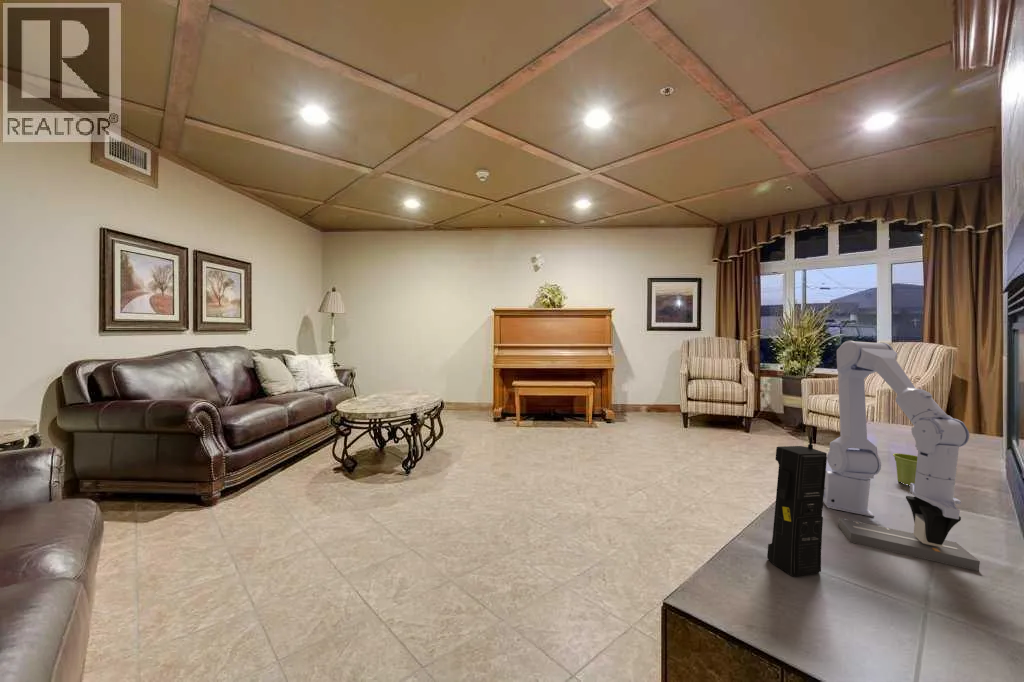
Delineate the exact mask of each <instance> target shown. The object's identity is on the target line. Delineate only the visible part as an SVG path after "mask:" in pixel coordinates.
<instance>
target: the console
mask: <svg viewBox="0 0 1024 682" xmlns="http://www.w3.org/2000/svg"><path fill="white" fill-rule="evenodd" d="M838 518H839V519H838V527H839V529H840V530H841V532H842V533H843V534H844V535H845V536H846V538H847V539H848V541H849V542H850V543H853V544H859V545H861V546H862V545H863V546H867V547H870V548H875V549H880V550H884V551H887V552H893V553H898V554H901V555H906V556H910V557H914V558H919V559H923V560H928V561H933V562H937V563H941V564H946V565H949V566H954V567H959V568H964V569H968V570H971V571H977V572H979V571H980V564H981V561H980V560H979V559H978V558H977V557H975V556H974V555H973V554H971V553H970V552H969V551H968V550H966V549H965V548H964V547H963V546H962V545H960V544H959V543H958V542H957V541H952V540H946V539H945V540H944V542H943V546H942V547H938V546H933V545H928V544H924V543H922V542H921V541H920V540H919V539H918V538H917V537H915V536H914V532H908V531H904V530H898V529H893V528H890V527H885V526H881V525H880V526H879V525H876V524H872V523H871V524H869V523H865V522H860V521H856V520H852V519H848V518H847V519H846V518H841V517H838Z"/></svg>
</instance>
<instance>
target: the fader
mask: <svg viewBox="0 0 1024 682" xmlns="http://www.w3.org/2000/svg"><path fill="white" fill-rule="evenodd" d="M913 533H914V536H915V537H917V538H918V539H919V540H920V541H921V542H922V543H924V544H928V545H933V546H938V547H942V546H943V544H942V545H939V544H934V543H930V542H928V541H927V538H926V530H925V521H924V517H923V515H922V514H916V513H915V524H914V526H913Z"/></svg>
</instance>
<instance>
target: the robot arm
mask: <svg viewBox="0 0 1024 682" xmlns="http://www.w3.org/2000/svg"><path fill="white" fill-rule="evenodd" d="M897 359H898V352H897V351H895V350H894V348H893V346H891V344H889V343H887V342H871V341H870V342H867V341H854V340H846V341H844V342H842V344H841V345H840V346H839V347H837V349H836V368H837V380H838V383H837V387H838V404H839V405H838V407H839V411H838V412H839V434H840V436H839V437H837V438H835V439H833V440H832V441H830V442H829V451H828V453H827V463H828V466H829V467H830V468H831V470H826V474H825V486H824V496H823V504H824V505H825V506H826V507H827V509H833V510H838V511H843V512H847V513H851V514H857V515H863V516H868V517H871V518H873V517H875V515H874V513H873V512H872V511H870V509H869V508H868V507H869V498H870V497H869V496H870V488H871V479H874V477H875V475H876V476H877V475H878V474H879V473H880V471H881V469H882V461H881V459H880V457H879V454H878V447H877V446H876V445H875V444H874V443H873V442H871V441H870V440H869V439H868V433H867V432H868V430H867V427H868V426H867V412H866V411H867V410H866V409H867V408H866V407H867V405H866V390H865V389H866V388H865V384H866V383H865V379H866V378H867V377H868V376H870V375H872V374H874V373H877V374H878V375H879V376H880V377H881V378H882V380H883V381H884V382H885V383H886V384H887V385H888V386H889V387H890V388H891V389H892V391H894V393H896V397H895V403H896V404H897V406H898V407H899V408H900V409H901V411H902V412H903V414H905V417H907V419H908V420H909V421H910V423H911V424H912V425H913V426H911V435H912V437H913V438H914V440H915V446H914V447H915V448H916V450H917V456H918V457H917V467H916V475H915V484H914V483H910V486H909V492H910V493H911V494H912V495H913V496H911V495H905V499H906V501H907V503H908V505H909V507H910V510H911V514H912V517H913V523H914V525H915V513H916V514H922V515H923V517H924V521H925V530H926V538H927V541H928V542H930V543H934V544H939V545H942V544H943V542H944V540H946V539H947V536H948V534H949V532H950V531H951V530H952V528H954V526H955V525H957V524H958V523H960V522H961V520H962V517H961V516H960V509H959V508H958V507H957V505H961V504H962V501H961V500H960V499H958V498H956V497H954V495H955V485H956V477H957V470H958V469H957V467H958V460H959V450H960V447H963V446H965V445H966V444H967V443H968V442H969V440H970V431H969V429H968V427H967V426H966V424H965V422H963V421H961V420H960V419H958V418H953V417H952V416H951V415H948V414H947V413H946V412H945V411H944V410H943V409H942V408H941V406H940V405H939V404H938V403H937V402H936V400H934V398H933V395H932V393H930V392H931V391H927V390H925V389H922V388H916V386H915V385H914V383H913V382H912V381H911V379H910V378H909V377H908V375H907V373H906V372H905V371H904V369H903V368H902V366H901V365H900V364H899V362H898V361H897Z"/></svg>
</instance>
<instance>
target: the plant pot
mask: <svg viewBox="0 0 1024 682" xmlns="http://www.w3.org/2000/svg"><path fill="white" fill-rule="evenodd" d="M892 456H893V457H894V460H895V466H896V467H895V468H896V475H897V476H896V477H897V482H898V481H899V482H902V483H904V484H908V485H910V483H914V484H915V475H916V467H917V457H918V455H913V454H906V453H893V454H892ZM899 482H898V483H899Z"/></svg>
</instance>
